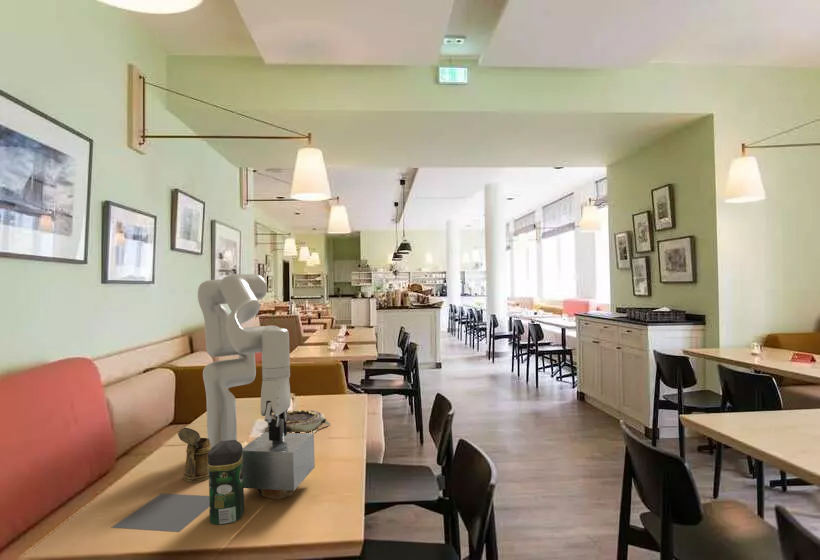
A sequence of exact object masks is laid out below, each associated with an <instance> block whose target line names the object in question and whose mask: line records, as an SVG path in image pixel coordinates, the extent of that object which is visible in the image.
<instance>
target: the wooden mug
mask: <svg viewBox="0 0 820 560" xmlns="http://www.w3.org/2000/svg"><path fill="white" fill-rule="evenodd" d="M177 436H178V438H179V440H181V441H182V442H183V443H185V444H187V446H186V449H185V452H186V453H185V454H186V459H185V461H186V462H185V468H184V473H183V478H182V479H183V481H184V482H185V483H192V484H193V483H200V482H204V481H209V471H208V453H209V451H210V450H211V443H210V440H209V439H208V437H201V435H200V433H199V432H198V431H196V430H195V429H192V428H188V427H184V428H182V429H179V431H178V432H177Z"/></svg>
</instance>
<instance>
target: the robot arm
mask: <svg viewBox="0 0 820 560" xmlns="http://www.w3.org/2000/svg"><path fill="white" fill-rule="evenodd" d="M267 291H268V286H267V282H266V279H264V277H262V275H260V274H256V273H252V274H251V273H250V274H248V273H246V274H245V273H243V274H240V273H239V274H229V275H227V276H224V278H222V279H219V278H218V279H208V280H205V281H203V282H202V283H200V284H199V286H198V290H197V299H198V300H197V301H198V304H199V307H200V310H201V313H202V314H203V315H202V316H203V320H204V336H205V349H206V353H207V354H208V355H209V356H210V357H212V358H213V357H214V358H220V357H221V358H222V357H229V356H238V358H233V359H224V360H217V361H213V362H209V363H208V364H207V365H205V366H204V368H203V370H202V378H203V384H204V389H205V390H204V391H205V398H206V402H205V403H206V428H207V431H206V432H207V433H206V434H207V437H206V438H208V439H209V440H210V443H211V449H212V447H213V446H215V445H216V444H218V443H219V442H220V441H226V440H236V441H238V429H237V428H238V427H237V422H238V421H237V402H236V397H235V395H234V394H233V393H232V392H231V391H230V390H229V389H230V388H234V387H238V386H244V385H250V384H252V383H253V382H254V381H255V379H256V374H257V370H256V369H257V368H256V354H258V353H261V377H262V380H261V390H260V415H261V416H262V417H264V422H266V423H267V426H268V432H269V440H270V441H280V440H281V433H280V426H279V419H283V420H284V436H286V435H287V429H286V420H287V412H288V411H289V409H290V407H291V385H290V378H291V356H290V355H291V352H290V351H291V350H290V333H289V330H288V329H287V328H283V327H279V326H277V325H263V326H262V325H260V326H258V325H257V326H249V327H242V326H241V325H243V324H244V323H246V322H248V321H250V320H252V319H254V318H255V317H256V315H258V314H259V312H260V309H261V304H260V302H259V301H260V300H262V299H264V298H265V297H266V294H267ZM226 304H227V306H228V308H229V309H230V313H229V311H228V310H227V309H226V307H224V305H226ZM272 417H276V418H275V419H273V418H272Z"/></svg>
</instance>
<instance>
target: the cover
mask: <svg viewBox="0 0 820 560" xmlns="http://www.w3.org/2000/svg"><path fill="white" fill-rule="evenodd" d="M279 426H280V433H281V440H280V441H270V440H269V431H268V432H267V431H265V432H263V433H262V434H260V435H259V436H258V437H256V438H255V439H253V440H252V441H250V442H249V443H248V444H246V445H245V446H244V447H243V448H242V452H243V486H244V489H253V490H254V489H255V490H258V489H271V490H292V491H293V492H294V491H295V490H296V489H297V488H298V487H299V486H300V485H301V483H303V481H304V480H305V479H306V478H307V477H308V476H309V474H310V473H312V471H313V470H314V469H315V467H316V466H315V465H316V464H315V462H316V461H315V435H314V434H315V433H313V434H312V432H311V433H306V432H305V433H287V435H286V436H284V420H283V419H279Z"/></svg>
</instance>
